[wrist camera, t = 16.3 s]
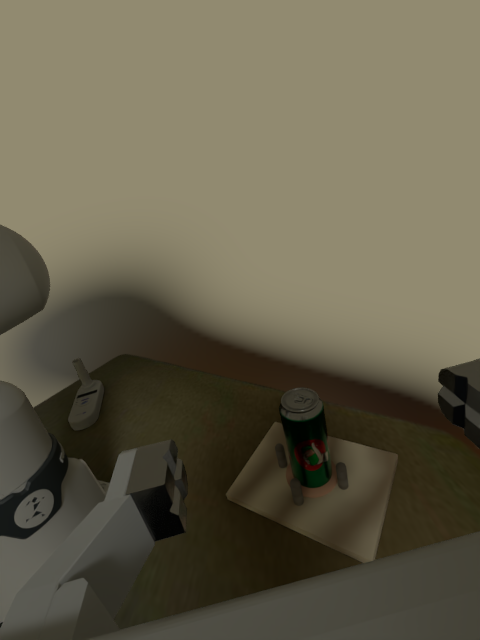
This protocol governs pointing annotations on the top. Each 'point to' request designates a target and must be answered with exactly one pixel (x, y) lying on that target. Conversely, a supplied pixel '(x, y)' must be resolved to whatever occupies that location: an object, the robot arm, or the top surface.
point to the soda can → (306, 437)
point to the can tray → (321, 493)
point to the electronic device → (85, 399)
